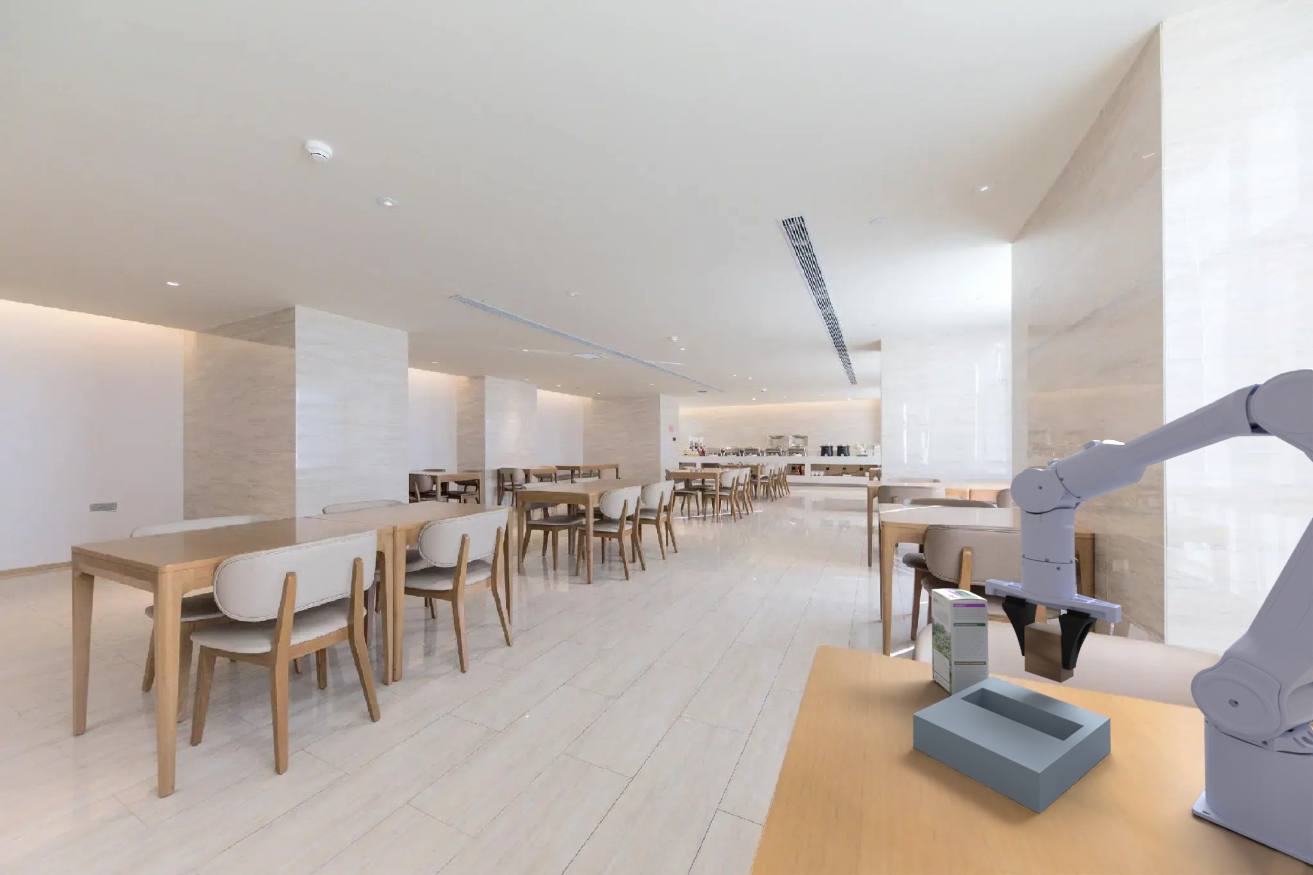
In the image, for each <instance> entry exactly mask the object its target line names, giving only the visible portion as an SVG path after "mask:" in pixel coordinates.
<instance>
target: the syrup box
mask: <svg viewBox="0 0 1313 875" xmlns="http://www.w3.org/2000/svg"><path fill="white" fill-rule="evenodd" d="M988 615H989V613H988V600H987V599H986V598H983V597H982V596H979V595H977V594H976V593H973V592H971V591H968V590H967V589H962V588H961V589H960V588H934V589H933V588H931V653H932V654H931V658H932V659H931V660H932V661H931V662H932V663H931V664H932V665H931V666H932V668H931V669H932V680H933V679H934V680H935V681H937V682H936V684H937V685H938V686H940V687H941V688H943V690H945V691H946V693H948V694H949V695H950V696H952V695H954V694H956V693H958V692H960V691H962V690H965V689H967V688H969V687H971V686H973V685H975V684H977V683H979V682H981V681H983V680H985V679H987V678H990V671H989V670H990V669H989V668H990V666H989V664H990V663H989V662H990V661H989V620H988V618H989V617H988ZM934 680H933V681H934ZM935 681H934V682H935Z"/></svg>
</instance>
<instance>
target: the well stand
mask: <svg viewBox="0 0 1313 875" xmlns="http://www.w3.org/2000/svg"><path fill="white" fill-rule="evenodd" d="M912 715H913V716H912V718H913V719H912V720H913V723H912V727H913V728H912V733H913V734H912V736H913V737H912V739H913V740H912V741H913V742H912V744H913V748H914V749H916V750H918V751H919V752H922V753H923V754H925V755H927V756H929V757H931V758H933V759H934V760H936V761H939V762H940V763H942V764H945V765H946V766H948V767H950V768H952V769H954V770H955V771H956V772H957V771H958V772H959V773H961V774H963V775H965V776H966V777H968V778H971V779H973V780H974V781H976V782H978V783H980V784H982V785H984V786H986V787H987V788H990V789H991V790H994V791H995V792H997V793H999V794H1001V795H1002V796H1005V797H1007V798H1009V799H1010V800H1012V801H1014V802H1016V803H1018V804H1021V805H1022V806H1024V807H1026V808H1028V809H1029V810H1031V811H1033V812H1036V813H1037V814H1041V813H1042V812H1044V811H1045V810H1046V809H1047V808H1048V807H1050V805H1052V804H1053V803H1054V802H1055V801H1056V800H1057V799H1058V798H1060V797H1061V796H1062V795H1063V794H1064V793H1065V792H1066V791H1068V789H1070V788H1071V787H1072V786H1073V785H1075V783H1077V782H1078V781H1079V780H1080V779H1081V778H1082V777H1084V776H1085V775H1086V774H1087V773H1088V772H1089V771H1090V770H1091V769H1093V768H1094V767H1095V766H1096V765H1097V764H1099V762H1100V761H1102V760H1103V759H1104V758H1105V757H1106V756H1107V755H1108V754H1110V753H1111V751H1112V748H1111V746H1112V744H1111V738H1112V737H1111V726H1112V725H1111V717H1108V716H1106V715H1103V714H1100V713H1097V712H1095V711H1092V710H1090V709H1086V708H1083V707H1080V706H1077V705H1075V704H1072V703H1070V702H1066V701H1064V700H1061V699H1057V698H1055V697H1052V696H1049V695H1047V694H1043V693H1041V692H1038V691H1035V690H1032V689H1029V688H1027V687H1024V686H1020V685H1018V684H1016V683H1012V682H1009V681H1007V680H1004V679H1001V678H998V677H995V676H989V678H987V679H985V680H983V681H981V682H979V683H977V684H975V685H973V686H971V687H969V688H967V689H965V690H962V691H960V692H958V693H956V694H954V695H950V696H948V697H946V698H944V699H942V700H940V701H938V702H936V703H933V704H931V705H929V706H927V707H925V708H923V709H921V710H919V711H916V712H915V713H913V714H912Z"/></svg>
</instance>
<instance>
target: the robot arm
mask: <svg viewBox="0 0 1313 875" xmlns="http://www.w3.org/2000/svg"><path fill="white" fill-rule="evenodd" d="M1236 437H1276V438H1278V439H1279V440H1281V441H1283V442H1285V443H1287V444H1288V445H1290V446H1292V447H1294V448H1296V449H1298V450H1299V451H1302V452H1303V453H1304V455H1305V456H1306V457H1307V458H1308V459H1309V460H1310V461H1311V462H1312V463H1313V368H1297V369H1293V370H1288V371H1284V372H1282V373H1279V374H1276V375H1274V376H1273V377H1271V378H1269V379H1267V380H1266V381H1265V382H1263V383H1254V384H1251V385H1247V386H1244V387H1241V388H1238V389H1236V390H1233V391H1232V392H1230V393H1228V394H1226V395H1224V396H1222V397H1220V398H1218V399H1216V400H1214V401H1212V402H1210V403H1208V404H1205V405H1203V406H1201V407H1199V408H1197V409H1195V410H1193V411H1190V412H1188V413H1187V414H1186V413H1185V415H1183V416H1180V417H1178V418H1176V419H1174V420H1171V421H1170V422H1168V423H1165V424H1163V425H1161V426H1159V427H1156V428H1155V429H1153V430H1150V431H1148V432H1147V433H1144V434H1142V435H1140V436H1138V437H1136V438H1133V439H1131V440H1129V441H1127V442H1125V443H1124V442H1120V441H1116V440H1113V439H1112V440H1111V439H1105V440H1103V441H1100V440H1097V439H1096V440H1092V439H1091V440H1090V441H1088V442H1085V443H1083V448H1084V449H1083V450H1080V451H1078V452H1076V453H1074V454H1072V455H1069V456H1066V457H1064V458H1062V459H1058V458H1053V459H1051V460H1049V461H1047V462H1046V463H1047V466H1046V467H1045V469H1041V468H1035V467H1033V468H1032V467H1031V468H1030V467H1029V468H1025V469H1023V470H1022V471H1021V472H1020V473H1018V474H1017V475H1015V477H1014V478H1013V479H1012V481H1011V484H1010V488H1009V489H1010V491H1009V492H1010V496H1011V499H1012V501H1013V502H1014V503H1015V504H1016V506H1017V507H1018V508H1020V522H1019V523H1020V583H1019V582H1012V581H1005V580H1000V579H996V578H995V579H994V578H991V579H986V580H984V591H985V592H984V593H985V595H989V596H998V597H1003V598H1005V599H1004V601H1002V602H1001V608H1002V610H1003V612H1004V613H1005V615H1006V616H1007V618H1008V620H1009V622H1010V624H1011V626H1012V628H1013V631H1014V632H1015V636H1016V639H1017V642H1018V645H1019V649H1020V653H1021V656H1022V657H1024V658H1025V626H1026V625H1029V624H1032V623H1035V622H1036V615H1037V608H1038V606H1042V607H1047V608H1051V609H1056V610H1060V611H1065V612H1066V613H1062V614H1059V615H1058V616H1057V618H1058V621H1059V622H1058V623H1059V627H1060V628H1061V634H1062V643H1063V649H1062V664H1063V669H1066V670H1072V669H1076V668H1077V662H1078V658H1079V656H1080V655H1079V654H1080V652H1081V650H1082V649H1081V648H1082V646H1083V644H1084V642H1085V640H1086V638H1087V636H1088V635H1089V634H1090V631H1091V630H1092V629H1093V627H1094V626H1095V624H1096V623H1097V621H1098V619H1100V620H1104V621H1105V622H1107V623H1110V624H1115V625H1116V624H1118V623H1121V622H1122V617H1123V616H1122V614H1123V613H1122V605H1121V604H1116V603H1112V602H1107V601H1103V600H1100V599H1096V598H1093V597H1089V596H1086V595H1085V596H1084V595H1083V594H1078V593H1076V560H1075V557H1076V555H1075V553H1076V551H1075V550H1076V549H1075V548H1076V546H1075V541H1076V540H1075V538H1076V537H1075V521H1076V511H1077V510H1078V509H1079V507H1081V506H1082V504H1083V503H1084V502H1088V501H1090V500H1092V499H1096V498H1099V497H1101V496H1103V495H1106V494H1109V493H1111V492H1112V493H1113V492H1115V491H1118V490H1120V489H1123V488H1125V487H1126V488H1127V487H1130V486H1132V485H1134V484H1137V483H1139V482H1140V481H1141V480H1142V478H1143V476H1144V473H1145V472H1146V469H1147V467H1149V466H1150V467H1151V466H1153V465H1155V464H1158V463H1161V462H1164V461H1167V460H1171V459H1173V458H1175V457H1179V456H1182V455H1185V454H1187V453H1188V454H1189V453H1191V452H1193V451H1196V450H1199V449H1203V448H1206V447H1208V446H1211V445H1214V444H1217V443H1220V442H1223V441H1226V440H1229V439H1232V438H1236ZM1190 693H1191V697H1192V699H1193V701H1194V703H1195V705H1196V706H1197V708H1198V709H1199V711H1200V712H1201V713H1202V714H1203V723H1204V724H1203V725H1204V726H1203V727H1204V729H1203V731H1204V734H1203V735H1204V736H1203V737H1204V742H1203V743H1204V789H1203V790H1202V792H1201V793H1200V794H1199V796H1198V798H1197V799H1196V801H1195V802H1194V803H1193V804H1192V806H1191V812H1192V813H1193V814H1194V815H1196V816H1197V817H1200V818H1202V819H1205V820H1207V821H1210V822H1212V823H1214V824H1217V825H1219V826H1221V827H1223V828H1225V829H1229V830H1230V831H1233V832H1234V833H1237V834H1239V835H1242V836H1245V837H1246V838H1249V839H1251V840H1253V841H1256V842H1258V843H1260V844H1263V845H1265V846H1267V847H1269V848H1272V849H1275V850H1277V851H1279V852H1281V853H1284V854H1286V855H1289V856H1291V857H1293V858H1296V859H1297V860H1300V861H1302V862H1305V863H1306V864H1309V865H1311V866H1313V728H1312V727H1311V723H1313V517H1312V518H1311V519H1310V521H1309V523H1308V525H1307V527H1306V528H1305V530H1304V532H1303V534H1302V535H1301V537H1300V539H1299V540H1298V542H1297V544H1296V545H1295V548H1294V550H1293V551H1292V553H1291V554H1290V556H1289V557H1288V559H1287V561H1286V562H1285V565H1284V567H1283V568H1282V570H1281V571H1280V573H1279V576H1278V578H1277V579H1276V580H1275V582H1274V584H1273V586H1272V587H1271V589H1270V590H1269V592H1268V594H1267V596H1266V597H1265V600H1264V601H1263V602H1262V605H1261V606H1260V608H1259V610H1258V611H1257V614H1256V615H1255V616H1254V619H1253V620H1252V622H1251V624H1250V625H1249V627H1248V629H1247V630H1246V632H1245V633H1244V634H1242V635H1241V636H1240V637H1239V638H1238V639H1237V640H1236V641H1235V642H1233V643H1232V644H1231V645H1230V646H1229V647H1228V648H1227V649H1226V650H1225V651H1224V652H1223V654H1222V656H1221V657H1220V659H1219V660H1218V661H1217V662H1216V663H1215V664H1213V665H1211V666H1209V667H1205V668H1203V669H1201V670H1200V671H1198V672H1197V673H1195V675H1194V676H1193V678H1192V680H1191V684H1190Z"/></svg>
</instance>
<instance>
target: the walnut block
mask: <svg viewBox="0 0 1313 875" xmlns="http://www.w3.org/2000/svg"><path fill="white" fill-rule="evenodd" d="M1062 649H1063V643H1062V634H1061V628H1060V626H1057V625H1053V624H1049V623H1045V622H1042V621H1035V623H1032V624H1029V625H1026V626H1025V657H1024V672H1026V673H1030V674H1032V675H1036V676H1038V677H1041V678H1044V679H1046V680H1047V679H1048V680H1050V681H1053V682H1057V683H1059V684H1062V683H1064V682H1066V681H1067V680H1070V679H1071V678H1073V677H1075V676H1074V673H1075V672H1074V669H1075V668H1074V669H1072V670H1066V669H1063V664H1062Z"/></svg>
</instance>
